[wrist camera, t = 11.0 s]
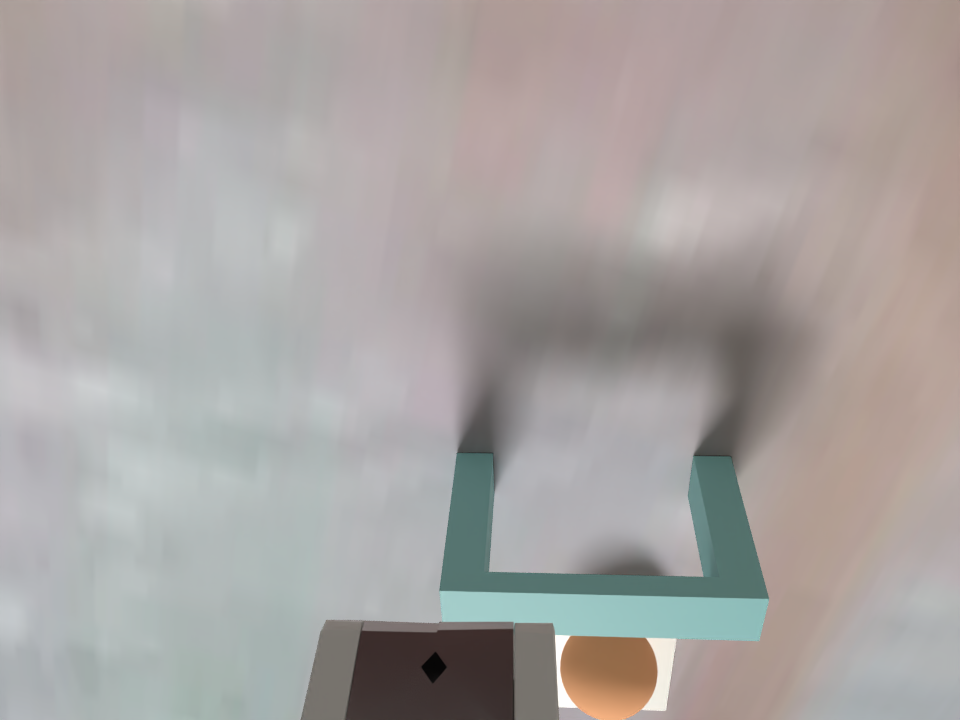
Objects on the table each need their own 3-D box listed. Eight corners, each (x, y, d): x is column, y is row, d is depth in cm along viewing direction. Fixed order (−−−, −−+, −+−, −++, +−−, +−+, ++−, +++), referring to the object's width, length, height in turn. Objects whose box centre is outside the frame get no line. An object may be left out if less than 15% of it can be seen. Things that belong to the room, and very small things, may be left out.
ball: (557, 729, 50) (555, 623, 51) (564, 707, 56) (562, 612, 57) (661, 733, 49) (657, 625, 50) (657, 709, 55) (654, 613, 56)
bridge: (723, 496, 48) (759, 640, 40) (459, 492, 49) (443, 632, 41) (730, 456, 46) (769, 599, 38) (457, 453, 47) (439, 591, 40)
